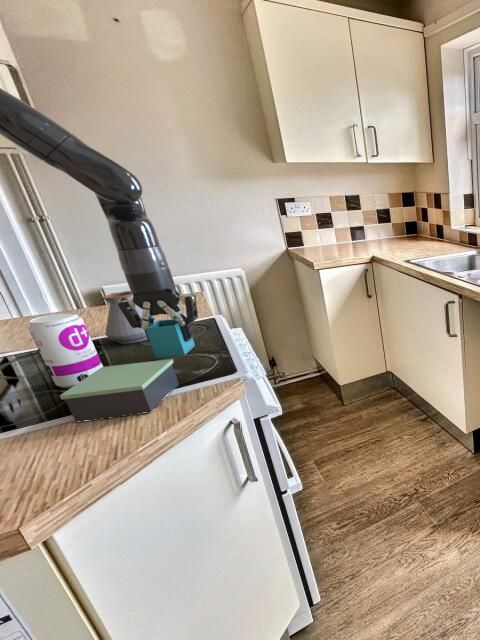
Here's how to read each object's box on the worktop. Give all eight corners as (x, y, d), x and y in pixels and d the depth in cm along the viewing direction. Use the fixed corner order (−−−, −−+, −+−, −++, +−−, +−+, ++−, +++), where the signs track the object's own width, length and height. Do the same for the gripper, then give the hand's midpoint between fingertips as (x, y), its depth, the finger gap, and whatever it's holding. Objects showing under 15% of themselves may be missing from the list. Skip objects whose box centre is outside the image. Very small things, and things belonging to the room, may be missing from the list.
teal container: (156, 358, 93) (144, 328, 91) (167, 348, 98) (157, 320, 96) (185, 354, 95) (174, 325, 92) (195, 345, 100) (185, 317, 97)
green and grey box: (73, 424, 78) (59, 395, 75) (113, 392, 89) (102, 366, 87) (152, 413, 81) (141, 385, 78) (181, 383, 92) (172, 359, 90)
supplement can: (115, 373, 98) (90, 312, 92) (76, 390, 90) (45, 324, 84) (87, 371, 99) (60, 310, 93) (46, 388, 92) (13, 323, 86)
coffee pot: (107, 339, 119) (86, 287, 113) (158, 328, 126) (140, 279, 121) (115, 360, 105) (91, 302, 99) (172, 346, 112) (152, 292, 107)
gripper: (192, 262, 94) (214, 332, 101) (116, 267, 91) (144, 339, 97) (177, 269, 88) (202, 344, 94) (94, 275, 84) (126, 352, 91)
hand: (172, 341), depth 96 cm, fingers closed on teal container, 5 cm apart
